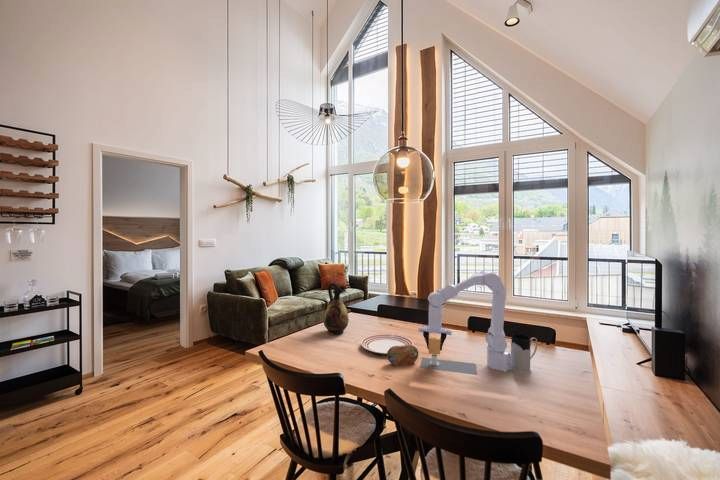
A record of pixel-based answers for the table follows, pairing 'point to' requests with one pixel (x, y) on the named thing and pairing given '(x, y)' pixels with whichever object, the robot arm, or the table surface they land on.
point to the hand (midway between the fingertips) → (434, 349)
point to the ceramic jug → (335, 312)
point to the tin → (402, 354)
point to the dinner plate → (384, 342)
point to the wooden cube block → (434, 344)
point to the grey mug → (521, 353)
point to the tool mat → (448, 365)
